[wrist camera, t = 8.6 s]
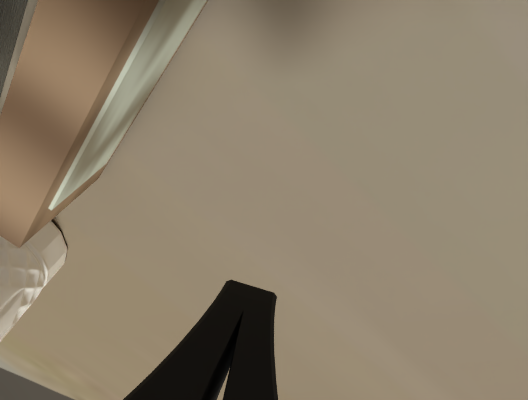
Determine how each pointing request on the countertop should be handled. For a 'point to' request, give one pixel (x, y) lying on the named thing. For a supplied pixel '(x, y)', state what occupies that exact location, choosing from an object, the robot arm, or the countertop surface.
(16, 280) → the white cup
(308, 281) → the countertop surface
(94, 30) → the picture frame
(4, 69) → the slanted bar
